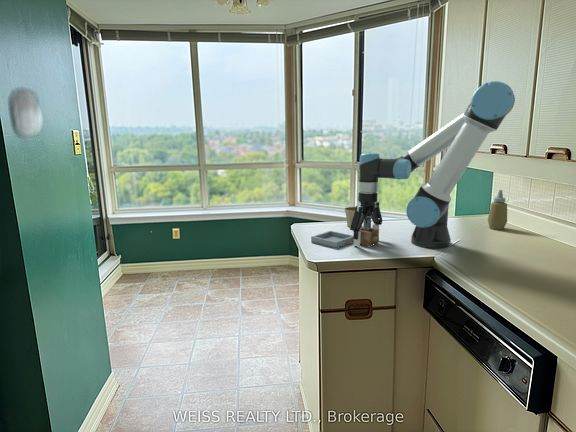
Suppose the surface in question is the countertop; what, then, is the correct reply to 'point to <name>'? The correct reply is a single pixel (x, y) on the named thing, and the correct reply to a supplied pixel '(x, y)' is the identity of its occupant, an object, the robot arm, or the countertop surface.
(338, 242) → the tray
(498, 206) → the squeeze bottle
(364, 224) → the post
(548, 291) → the countertop surface
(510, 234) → the countertop surface
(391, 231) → the countertop surface
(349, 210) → the flower pot
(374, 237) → the brown wooden box
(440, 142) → the robot arm
